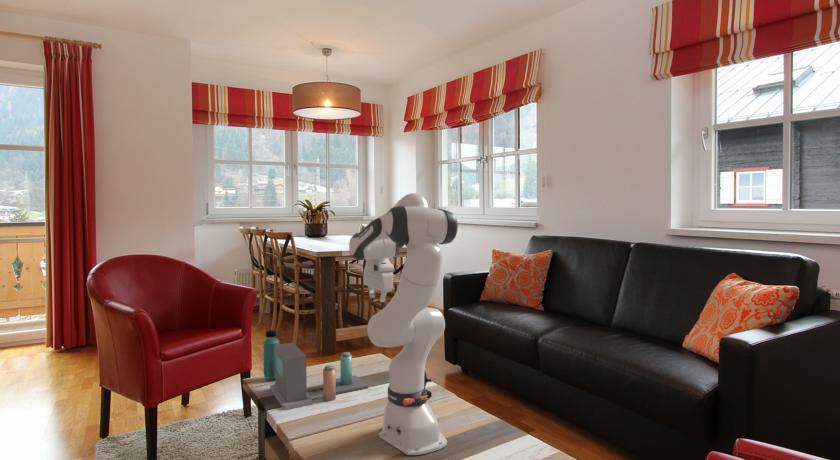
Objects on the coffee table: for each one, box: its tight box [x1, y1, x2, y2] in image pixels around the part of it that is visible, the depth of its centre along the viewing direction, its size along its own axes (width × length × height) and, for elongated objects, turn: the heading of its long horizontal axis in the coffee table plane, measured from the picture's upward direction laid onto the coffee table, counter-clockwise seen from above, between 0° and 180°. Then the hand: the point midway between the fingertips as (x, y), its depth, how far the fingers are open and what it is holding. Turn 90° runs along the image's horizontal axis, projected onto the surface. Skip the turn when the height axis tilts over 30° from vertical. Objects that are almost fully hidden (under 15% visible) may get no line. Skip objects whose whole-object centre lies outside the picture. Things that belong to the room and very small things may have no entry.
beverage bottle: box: [262, 329, 280, 379], centre depth 201 cm, size 6×7×20 cm
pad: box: [336, 374, 369, 396], centre depth 195 cm, size 13×13×1 cm
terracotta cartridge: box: [322, 364, 337, 402], centre depth 182 cm, size 4×4×12 cm
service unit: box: [269, 342, 314, 411], centre depth 184 cm, size 22×10×18 cm, turn 29°
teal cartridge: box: [339, 351, 353, 385], centre depth 195 cm, size 4×4×12 cm
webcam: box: [424, 370, 433, 399], centre depth 185 cm, size 8×8×10 cm
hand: (377, 299), depth 194 cm, fingers open, 8 cm apart
